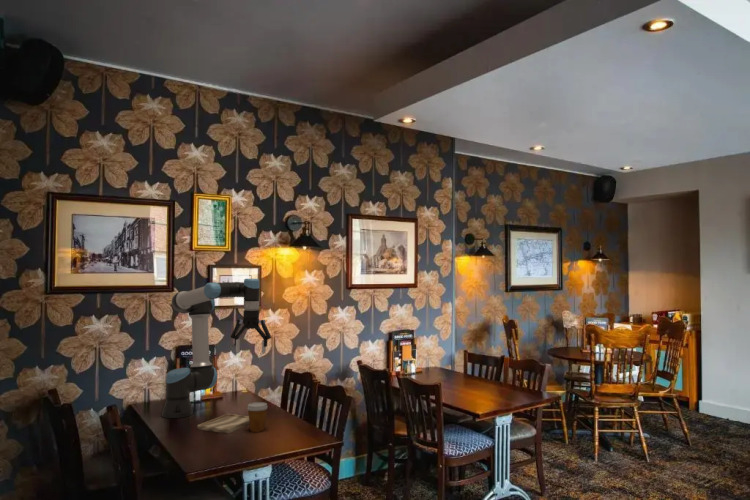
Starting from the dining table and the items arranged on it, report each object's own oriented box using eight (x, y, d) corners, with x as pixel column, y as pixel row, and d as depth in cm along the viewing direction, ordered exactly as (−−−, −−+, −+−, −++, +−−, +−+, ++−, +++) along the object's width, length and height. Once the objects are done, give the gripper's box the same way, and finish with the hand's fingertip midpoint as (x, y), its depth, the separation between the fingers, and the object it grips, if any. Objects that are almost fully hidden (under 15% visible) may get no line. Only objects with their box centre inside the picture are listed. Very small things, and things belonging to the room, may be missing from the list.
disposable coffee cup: (271, 428, 244) (271, 403, 245) (259, 434, 236) (259, 407, 236) (255, 426, 248) (255, 401, 249) (242, 431, 240) (242, 405, 240)
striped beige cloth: (197, 429, 243) (197, 424, 244) (227, 417, 264) (227, 413, 264) (227, 433, 236) (228, 429, 236) (256, 421, 257) (256, 417, 257)
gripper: (224, 309, 252) (223, 353, 251) (272, 310, 247) (271, 355, 246) (231, 308, 259) (230, 351, 258) (278, 309, 255) (277, 352, 254)
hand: (250, 353), depth 252 cm, fingers open, 13 cm apart
